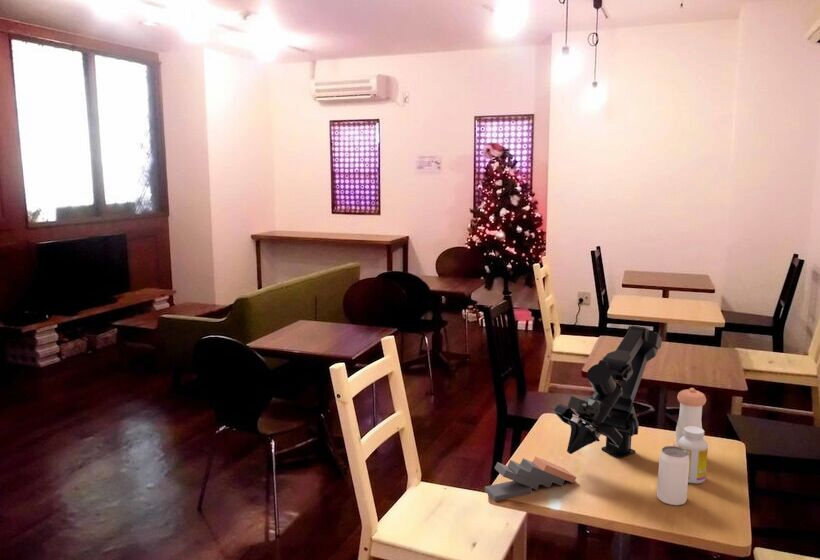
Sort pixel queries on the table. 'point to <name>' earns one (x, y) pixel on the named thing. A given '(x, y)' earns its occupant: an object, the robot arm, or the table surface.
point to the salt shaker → (689, 411)
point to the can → (673, 476)
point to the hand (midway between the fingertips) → (568, 452)
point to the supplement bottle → (695, 453)
